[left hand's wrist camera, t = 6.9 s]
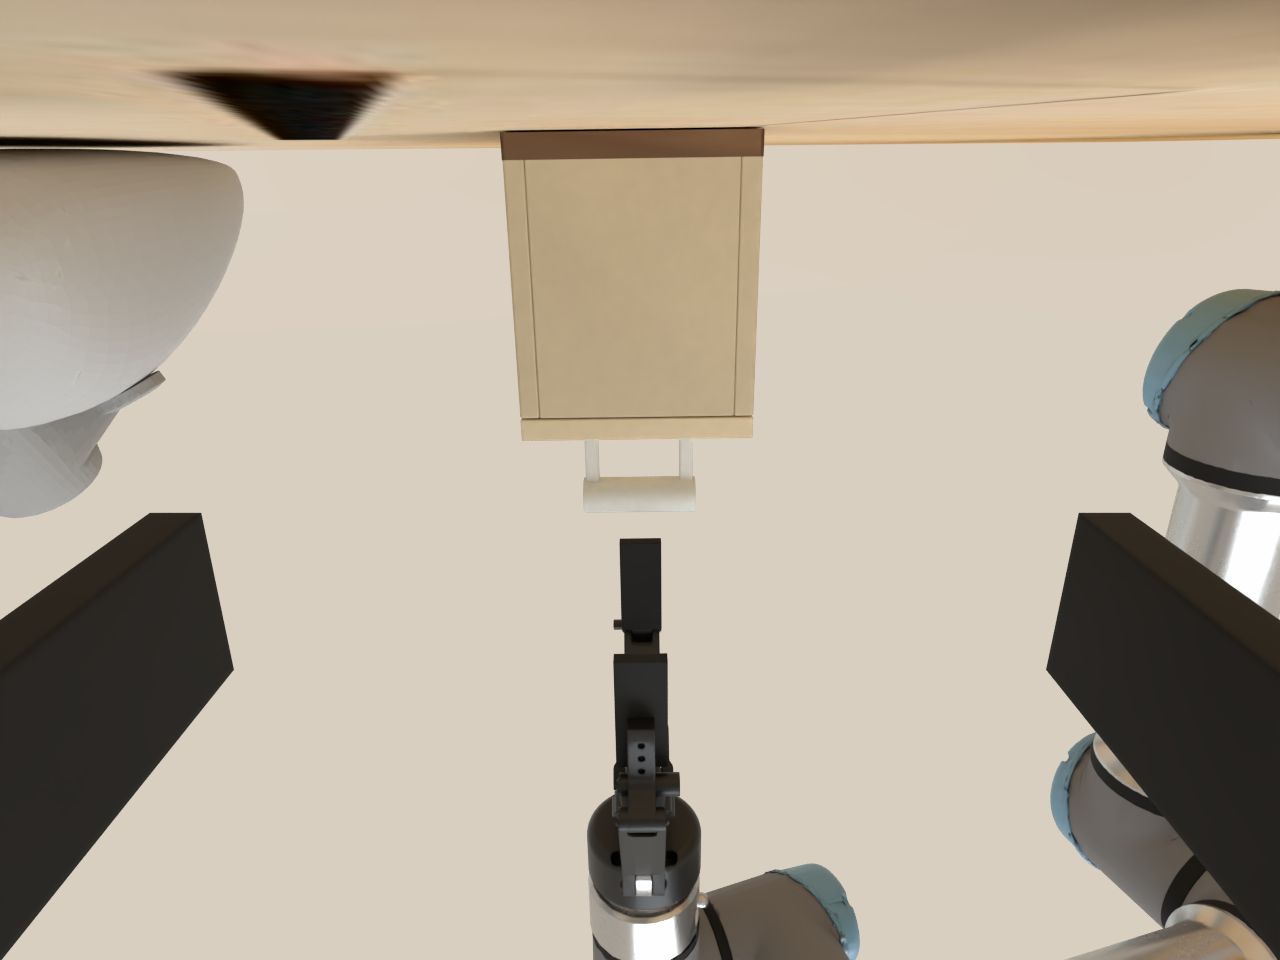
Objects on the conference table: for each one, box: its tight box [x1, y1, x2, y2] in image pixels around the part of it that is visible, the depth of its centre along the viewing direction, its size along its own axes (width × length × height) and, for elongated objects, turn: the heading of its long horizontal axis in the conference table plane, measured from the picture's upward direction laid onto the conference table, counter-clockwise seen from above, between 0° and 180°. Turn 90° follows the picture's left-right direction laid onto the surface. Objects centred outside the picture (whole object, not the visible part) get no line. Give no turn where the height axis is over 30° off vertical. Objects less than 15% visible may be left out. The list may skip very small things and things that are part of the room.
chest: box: [500, 129, 764, 418], centre depth 37 cm, size 13×9×10 cm
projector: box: [0, 149, 244, 518], centre depth 37 cm, size 22×23×15 cm
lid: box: [521, 415, 753, 513], centre depth 41 cm, size 14×9×9 cm
